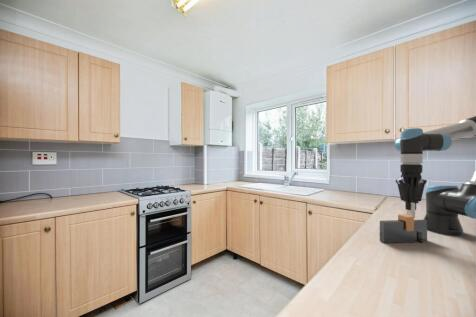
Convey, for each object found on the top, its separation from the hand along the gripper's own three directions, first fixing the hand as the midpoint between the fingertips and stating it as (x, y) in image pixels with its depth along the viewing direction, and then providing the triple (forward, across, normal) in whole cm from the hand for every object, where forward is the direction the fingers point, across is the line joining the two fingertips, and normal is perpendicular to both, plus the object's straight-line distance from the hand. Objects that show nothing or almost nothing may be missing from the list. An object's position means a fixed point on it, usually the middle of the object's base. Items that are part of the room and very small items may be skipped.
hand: (410, 217), depth 92 cm
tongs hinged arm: (+10, +6, +1) cm, 12 cm away
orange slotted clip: (+5, +2, 0) cm, 6 cm away
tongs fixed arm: (+11, +3, 0) cm, 11 cm away
